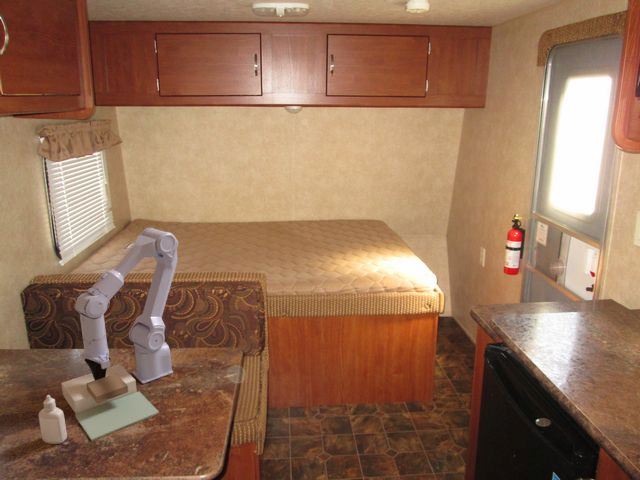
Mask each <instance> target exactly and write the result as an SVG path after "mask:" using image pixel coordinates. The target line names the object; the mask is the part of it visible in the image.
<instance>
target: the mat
mask: <svg viewBox="0 0 640 480" xmlns="http://www.w3.org/2000/svg"><path fill="white" fill-rule="evenodd" d="M159 414H160V411H159V410H158V409H157V408H156V407H155V406H154V405H153V404H152V402H151V401H149V400H148V399H147V398H146V397H145V395H144V394H142V392H141V391H137V392H136V393H133V394H131V395H128V396H125V397H122V398H120V399H117V400H114V401H112V402H109V403H106V404H104V405H101V406H98V407H95V408H93V409H90V410H87V411H85V412H82V413H79V414H76V413H75V415H74V417H75V419H76V421H78V423H79V424H80V426H81V427H82V429H83V430H84V432H85V433H86V435H87V436H88V438H89V439H90V441H91V442H94V441H97V440H98V439H100V438H103V437H105V436H108V435H110V434H113V433H115V432H118V431H121V430H123V429H125V428H128V427H130V426H133V425H135V424H137V423H138V424H139V423H140V422H143V421H144V420H147V419H150V418H152V417H154V416H156V415H159Z"/></svg>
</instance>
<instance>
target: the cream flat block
mask: <svg viewBox="0 0 640 480" xmlns="http://www.w3.org/2000/svg"><path fill="white" fill-rule="evenodd" d="M116 373H117V374H118V376H119V377H120V378H121V379H122V380H123V381H124V382H125V383H126V385H127V386H128V392H127V393H125V394H122V395H119V396H116V397H114V398H111V399H108V400H106V401H103V402H100V403H97V402H96V401H95V400H94V398H93V397H92V396H91V394H90V393H89V392H88V390H87V385H86V383H89V382H92V381H95V380H94V377H93V375H92V372H91V373H87V374H85V375H81V376H78V377H76V378H72V379H69V380H66V381H63V382H61V389H62V390H61V392H62V396H63V398H64V399H65V400H66V402H67V403H68V405H69V407H70V408H71V409H72V411H73V412H74V414H75V415H76V414H79V413H82V412H85V411H87V410H90V409H93V408H95V407H98V406H101V405H104V404H106V403H109V402H112V401H114V400H117V399H120V398H122V397H125V396H128V395H131V394H133V393H136V392H138V391H137V382H136V381H137V380H136V379H135V378H134V377H133V375H131V374H130V372H129V371H127V369H125V367H124V366H123V365H121V364H120V363H119V364H115V365H112V366H111V365H110V367H108V368H107V370H106V376H105V377H107V376H110V375H113V374H116Z"/></svg>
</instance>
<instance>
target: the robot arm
mask: <svg viewBox="0 0 640 480" xmlns="http://www.w3.org/2000/svg"><path fill="white" fill-rule="evenodd" d="M178 247H179V241H178V239H177V238H176V236H175V235H174V234H173V233H172V232H170V231H164V230H160V229H156V228H155V227H146V228H145V229H144V230H142V232H141V233H140V234H139V235H137V237H136V238H135V242H134V244H133V245H132V246H131V248H130V249H129V250H128V251H127V253H126V254H125V255H124V256H123V258H122V259H121V260H120V262H119V263H118V264H117V265H116V266H115V267H114V269H111V270H106V271H105V272H102V273H101V274H100V275H99V277H100V278H99V279H98V280H97V281H96V282H94V284H93V285H92V286H91V287H89V288H88V289H87V290H86V291H87V292H84V293H81V294H80V295H79V296H77V299H76V301H75V304H74V305H73V307H74V309H75V310H76V312H77V313H79V319H80V327H81V333H82V343H83V350H84V351H83V353H81V354H80V356H79V357H80V359H81V360H84V362H85V363H86V364H87V365H88V368H89V369H90V372H91V373H92V375H93V377H94V380H98V379H101V378H104V377H105V376H106V370H107V368H108V367H111V358H110V356H109V355H110V350H109V347H108V340H107V332H106V331H107V330H106V324H105V323H106V322H105V315H104V314H105V313H106V312H107V310H108V304H109V303H110V300H111V299H112V298H113V297H114V296H115V295H116V294H117V293H118V292H119V290H120V289H121V288H122V287H124V285H125V277H126V276H127V275H129V273H130V272H131V271H132V270H133V269H135V268H136V267H137V265H139V264H140V263H141V262H142V260H144V259H145V258H149V257H151V258H152V257H153V258H154V259H155V261H156V265H155V269H154V273H153V275H152V280H151V283H150V287H149V290H148V294H147V297H146V300H145V304H144V307H143V311H142V314H140V315H138V316H136V318H135V321H134V324H133V325H132V326H131V328H130V329H129V332H128V338H129V340H130V341H131V342H133V345H134V346H133V347H134V352H135V361H136V370H134V371H132V374H133V375H132V376H134V377H135V378H136V379H138V381H139V382H140V383H141V384H143V385H144V384H148V383H150V382H153V381H155V380H157V379H161V378H163V377H166V376H169V375H172V374H173V373H174V371H173V369H172V366H173V365H172V358H171V357H172V356H171V350H170V347H169V345H168V344H167V342H166V341H165V339H166V338H165V330H166V325H165V323H164V321H163V318H162V317H163V315H164V314H163V313H164V311H165V306H166V304H167V300H168V296H169V292H170V290H171V286H172V282H173V280H174V279H173V278H174V276H175V272H176V268H177V266H178V265H177V264H178V260H179V259H178Z"/></svg>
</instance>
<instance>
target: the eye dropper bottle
mask: <svg viewBox="0 0 640 480" xmlns="http://www.w3.org/2000/svg"><path fill="white" fill-rule="evenodd" d="M38 421H39V429H40V433H41V440H42V441H43V442H45V443H47V444H49V445H50V444H52V445H58V444H62V443H63V442H64V441H66V440H67V438H68V434H67V433H68V432H67V426H66V420H65V414H64V411H63V410H62V409H61V408H59V407H57V406H56V399H55V398H53V397H51V395H50V394H47V395H46V398H45V399H44V401H43V408H42V409H41V410H40V411H39V413H38Z"/></svg>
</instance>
